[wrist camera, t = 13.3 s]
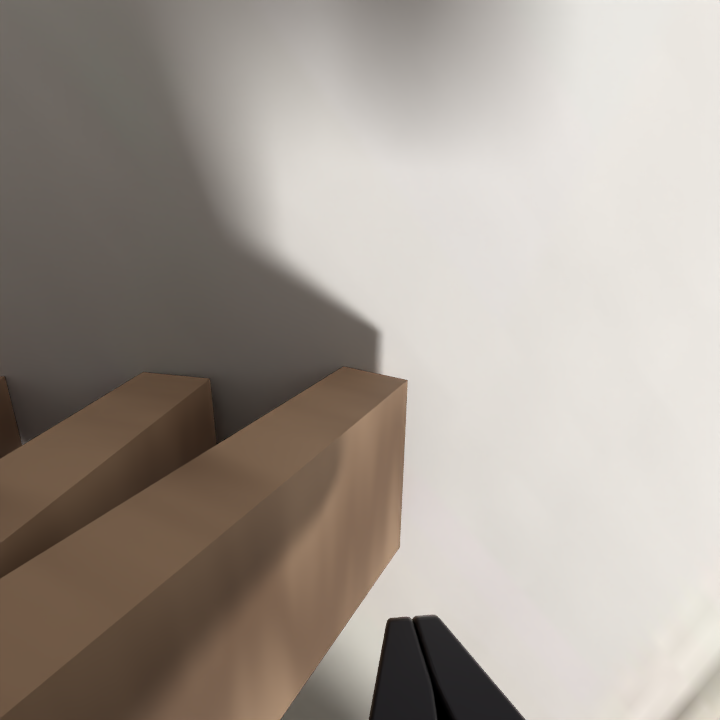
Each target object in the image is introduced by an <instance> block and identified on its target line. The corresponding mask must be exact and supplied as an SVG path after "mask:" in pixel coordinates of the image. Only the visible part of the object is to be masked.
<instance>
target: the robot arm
mask: <svg viewBox="0 0 720 720" xmlns="http://www.w3.org/2000/svg"><path fill="white" fill-rule="evenodd" d="M369 720H525V718H524V717H523V716H522V715H521V714H520V713H519V711H518V710H517V709H516V708H515V707H514V705H513V704H512V703H511V702H510V701H509V700H508V698H507V697H506V696H505V695H504V694H503V692H502V691H501V690H500V689H499V688H498V687H497V685H496V684H495V683H494V682H493V681H492V680H491V678H490V677H489V676H488V675H487V674H486V672H485V671H484V670H483V669H482V668H481V667H480V665H479V664H478V663H477V662H476V661H475V659H474V658H473V657H472V656H471V655H470V654H469V652H468V651H467V650H466V649H465V648H464V646H463V645H462V644H461V643H460V642H459V641H458V639H457V638H456V637H455V636H454V635H453V634H452V632H451V631H450V630H449V629H448V628H447V626H446V625H445V624H444V623H443V622H442V621H441V619H440V618H439V617H438V616H436V615H423V616H415V617H414V618H413V619H411V618H410V617H398V618H390V619H388V620H387V623H386V628H385V634H384V639H383V645H382V650H381V656H380V661H379V667H378V672H377V677H376V683H375V688H374V694H373V699H372V705H371V710H370V716H369Z"/></svg>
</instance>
